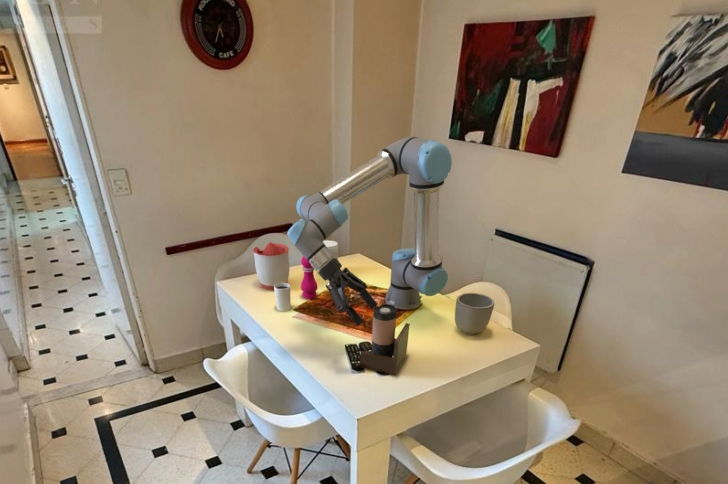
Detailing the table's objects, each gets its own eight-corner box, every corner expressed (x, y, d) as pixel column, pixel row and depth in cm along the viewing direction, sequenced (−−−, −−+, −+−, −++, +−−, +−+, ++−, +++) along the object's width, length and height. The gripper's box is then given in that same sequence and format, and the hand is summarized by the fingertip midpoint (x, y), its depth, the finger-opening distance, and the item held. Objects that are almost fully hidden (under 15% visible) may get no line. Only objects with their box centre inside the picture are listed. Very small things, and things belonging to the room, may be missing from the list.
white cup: (287, 312, 190) (286, 290, 184) (273, 310, 192) (271, 287, 186) (294, 306, 195) (292, 283, 189) (279, 303, 197) (278, 281, 191)
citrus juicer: (275, 275, 222) (272, 233, 211) (297, 285, 212) (295, 242, 200) (248, 283, 214) (243, 240, 202) (269, 295, 204) (265, 250, 192)
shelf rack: (372, 348, 167) (374, 317, 160) (406, 355, 164) (409, 323, 156) (360, 367, 157) (361, 334, 149) (395, 375, 153) (398, 342, 146)
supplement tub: (325, 278, 220) (324, 247, 211) (314, 272, 226) (313, 242, 217) (341, 274, 224) (342, 244, 216) (330, 268, 231) (330, 238, 222)
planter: (464, 319, 187) (469, 289, 179) (494, 331, 179) (501, 300, 171) (444, 330, 179) (449, 299, 171) (475, 343, 171) (481, 312, 163)
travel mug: (391, 368, 157) (395, 315, 145) (369, 365, 158) (371, 312, 146) (393, 356, 163) (398, 304, 151) (372, 354, 164) (375, 302, 152)
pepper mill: (320, 295, 204) (320, 250, 192) (311, 301, 199) (309, 255, 187) (307, 291, 207) (306, 247, 195) (298, 297, 202) (295, 252, 190)
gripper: (333, 258, 159) (372, 305, 164) (301, 285, 141) (346, 337, 145) (347, 245, 155) (387, 294, 159) (317, 271, 136) (363, 325, 140)
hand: (368, 315), depth 152 cm, fingers open, 13 cm apart
